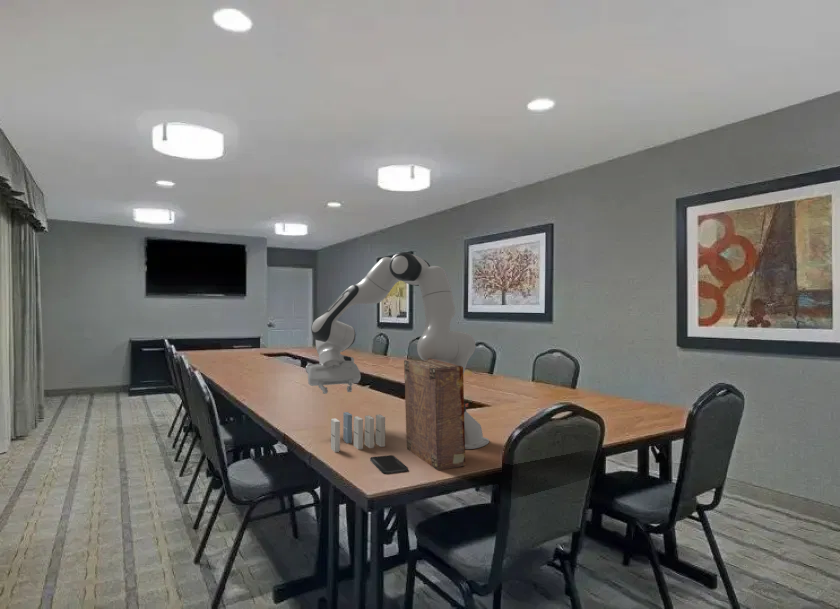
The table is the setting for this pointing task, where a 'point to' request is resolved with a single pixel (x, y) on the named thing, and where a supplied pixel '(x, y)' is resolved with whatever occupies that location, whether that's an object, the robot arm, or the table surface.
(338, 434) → the domino
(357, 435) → the domino
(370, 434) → the domino
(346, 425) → the domino
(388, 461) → the phone
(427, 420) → the book
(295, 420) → the table surface
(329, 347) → the robot arm
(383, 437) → the domino
